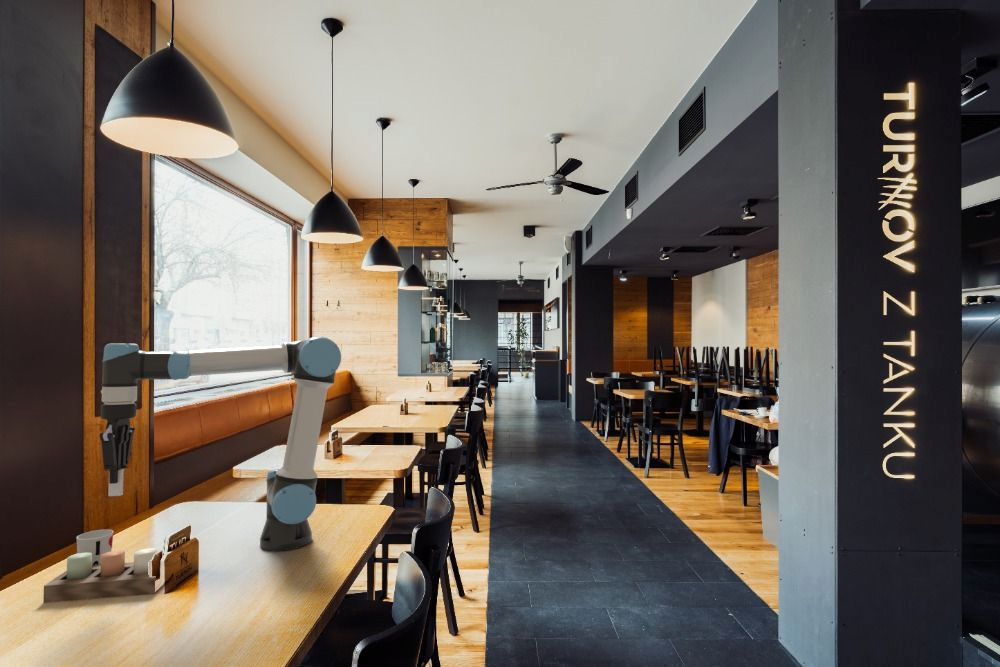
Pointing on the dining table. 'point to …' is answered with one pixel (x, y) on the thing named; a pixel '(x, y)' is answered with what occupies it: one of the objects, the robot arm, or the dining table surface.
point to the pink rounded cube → (112, 563)
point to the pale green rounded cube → (79, 565)
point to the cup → (95, 544)
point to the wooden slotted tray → (99, 586)
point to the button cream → (143, 560)
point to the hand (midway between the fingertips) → (115, 495)
